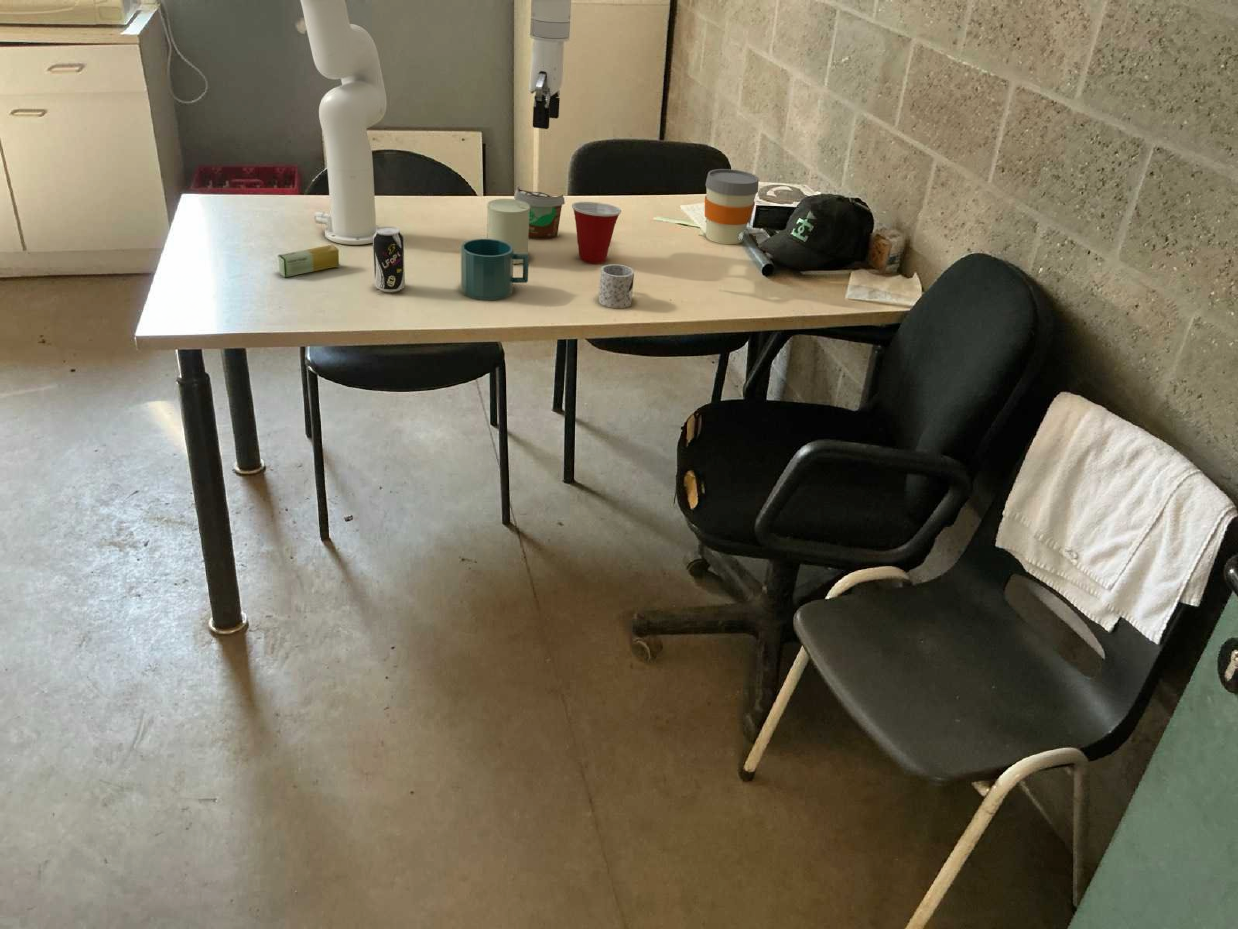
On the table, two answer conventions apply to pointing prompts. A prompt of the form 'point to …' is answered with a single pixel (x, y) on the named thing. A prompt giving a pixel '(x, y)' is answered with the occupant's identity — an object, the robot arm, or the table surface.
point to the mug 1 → (489, 269)
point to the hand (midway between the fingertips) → (545, 122)
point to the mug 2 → (616, 286)
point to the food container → (542, 213)
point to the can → (509, 224)
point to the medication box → (308, 260)
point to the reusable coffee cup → (729, 204)
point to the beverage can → (388, 259)
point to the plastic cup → (594, 229)
